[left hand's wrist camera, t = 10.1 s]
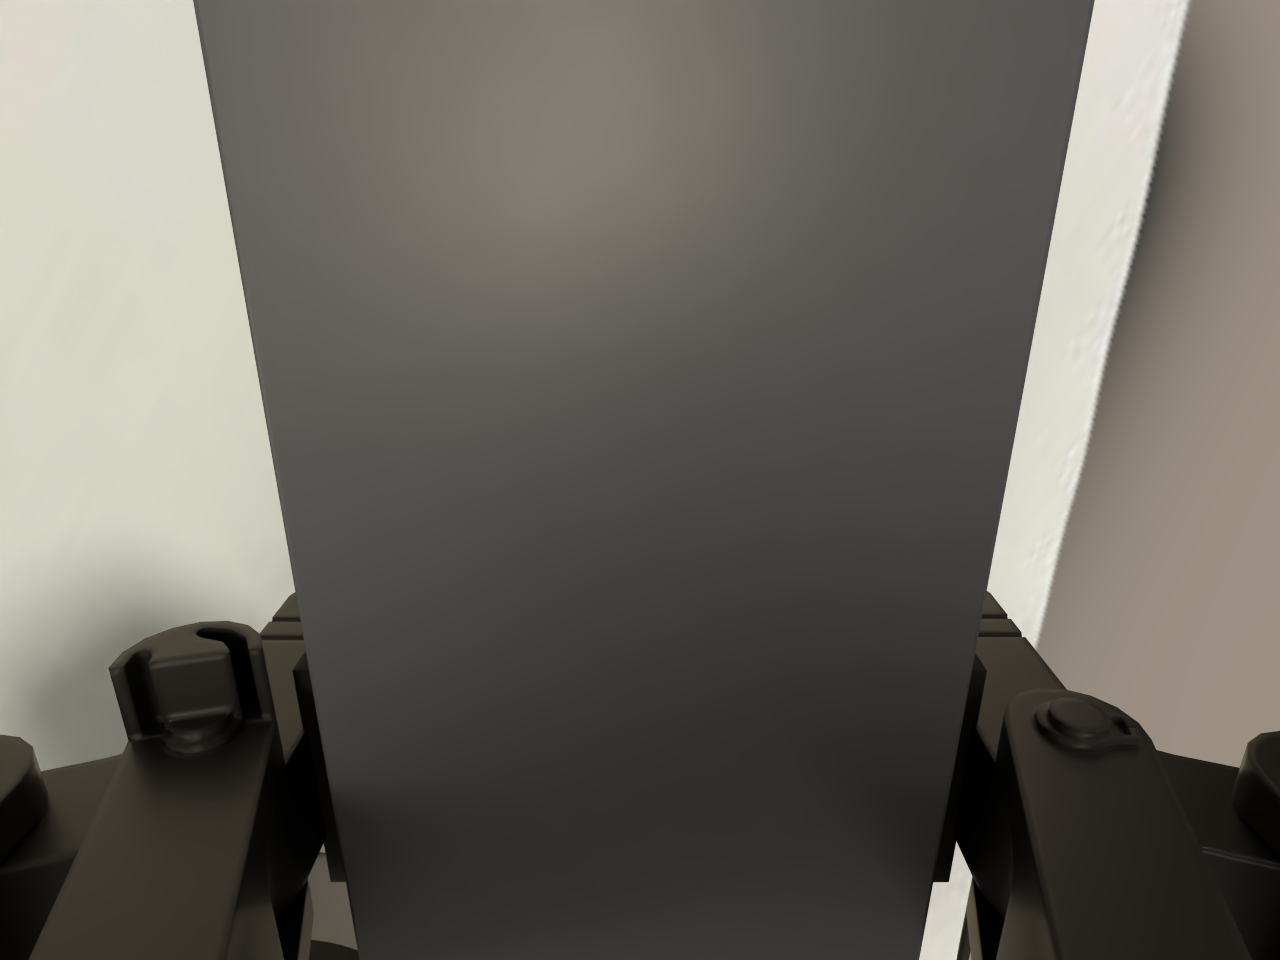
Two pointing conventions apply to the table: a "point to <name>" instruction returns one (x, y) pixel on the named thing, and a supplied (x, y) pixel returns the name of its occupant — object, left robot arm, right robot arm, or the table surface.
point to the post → (641, 442)
